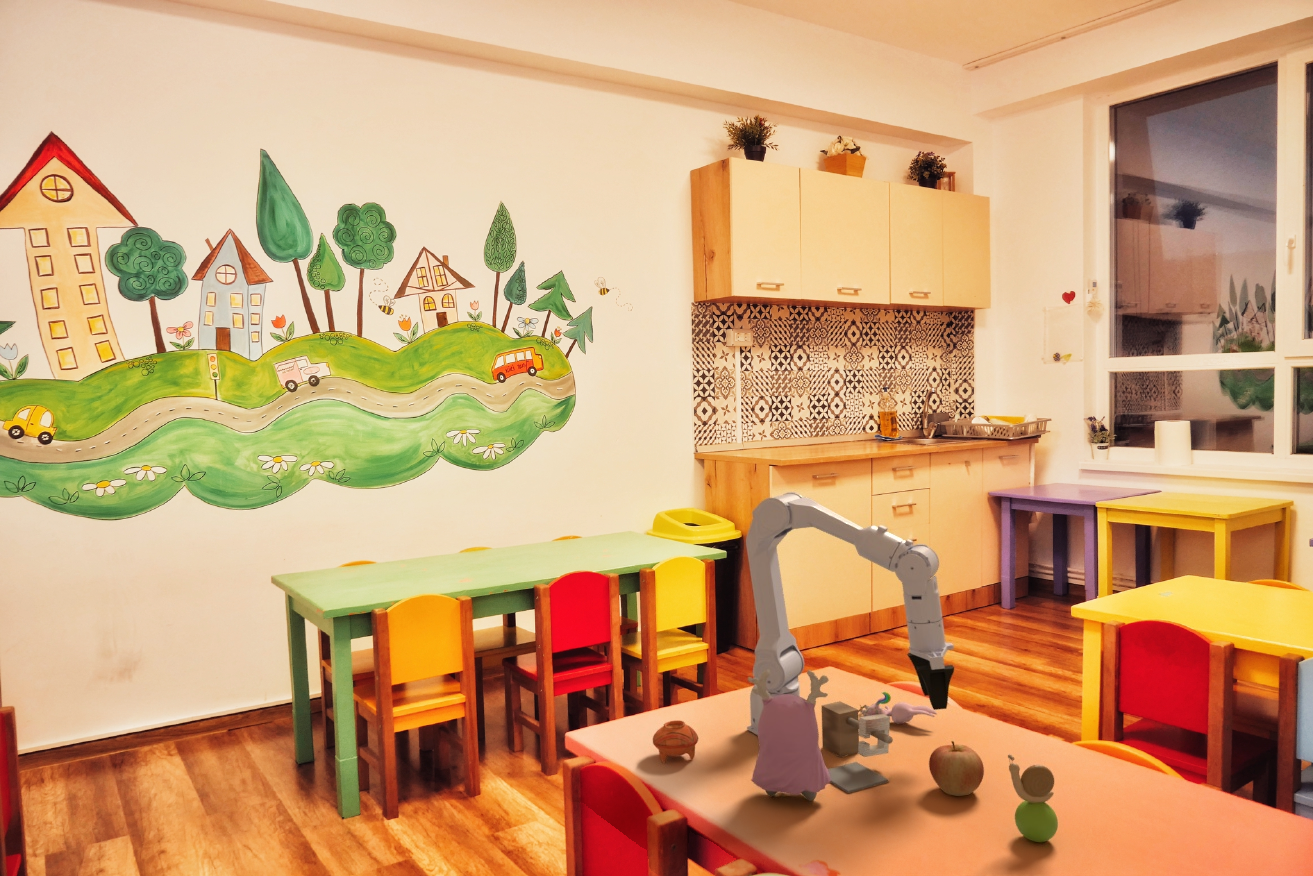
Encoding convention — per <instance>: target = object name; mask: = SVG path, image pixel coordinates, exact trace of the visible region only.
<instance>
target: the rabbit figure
mask: <svg viewBox="0 0 1313 876" xmlns="http://www.w3.org/2000/svg"><path fill="white" fill-rule="evenodd" d="M881 694H883V695H884V697H881V698H879V699H878V700H877V701H876V702H875V703H872V704H871V705H870V706H869V705H867V704H864V705H863V706H862V705H861V704H859V706H860V707H859V709H858V713H861V714H862V717H865V716H872V715H880V714H884V715H887V716H889V717H890V718H891V720H892V721H893V723H896V725H900V724H901V725H903V724H904V723H910V722H911V721H912V719H913V718H914V716H917V715H926V716H929V717H932V718H935V717H936V716H935V715H938V712H936V710H934V709H933V707H932V708H931V707H930V706H927V705H913V704H910V703H908V702H903V701H901V702H900V701H899V702H897V703H895V704H893V706H892V709H891V707H890V706H888V705H885V704H889V703H890V702H891V698H892V697H891V694H890V693H889V692H886V691H884V692H881ZM882 704H883V705H884V708H885V709H884V708H882V707H881V705H882ZM864 708H865V709H864Z"/></svg>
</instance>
